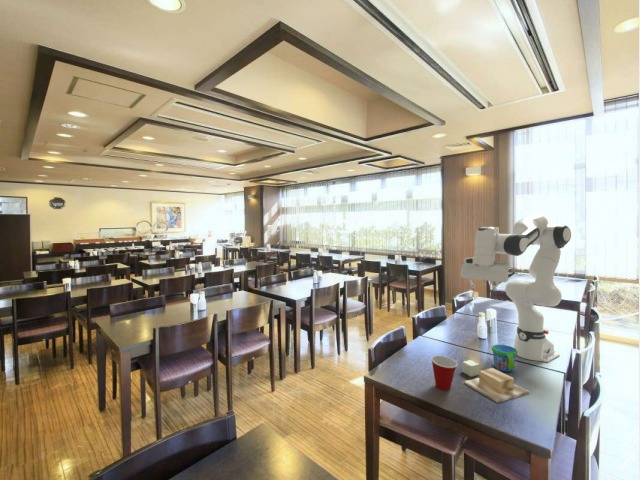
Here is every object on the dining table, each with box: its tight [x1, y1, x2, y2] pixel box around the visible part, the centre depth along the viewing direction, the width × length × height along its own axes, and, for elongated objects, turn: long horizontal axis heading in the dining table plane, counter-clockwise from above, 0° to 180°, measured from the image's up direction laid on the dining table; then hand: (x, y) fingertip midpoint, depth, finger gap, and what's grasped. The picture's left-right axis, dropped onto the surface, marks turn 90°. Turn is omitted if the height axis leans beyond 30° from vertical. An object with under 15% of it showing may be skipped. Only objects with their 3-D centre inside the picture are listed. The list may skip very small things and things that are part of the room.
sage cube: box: [462, 359, 480, 378], centre depth 147 cm, size 5×5×5 cm
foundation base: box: [464, 367, 530, 404], centre depth 134 cm, size 18×16×6 cm
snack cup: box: [491, 344, 518, 373], centre depth 151 cm, size 16×10×10 cm
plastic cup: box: [430, 355, 459, 392], centre depth 135 cm, size 11×11×12 cm
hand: (483, 289), depth 151 cm, fingers open, 8 cm apart
